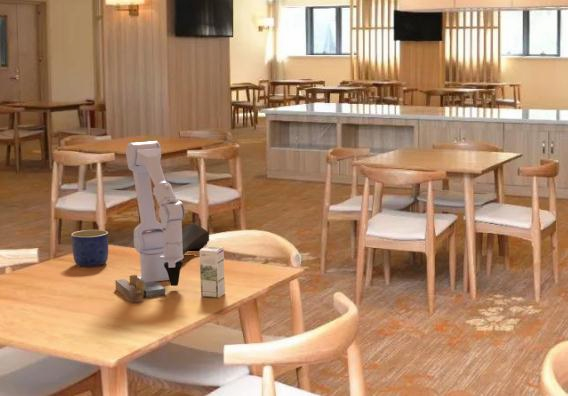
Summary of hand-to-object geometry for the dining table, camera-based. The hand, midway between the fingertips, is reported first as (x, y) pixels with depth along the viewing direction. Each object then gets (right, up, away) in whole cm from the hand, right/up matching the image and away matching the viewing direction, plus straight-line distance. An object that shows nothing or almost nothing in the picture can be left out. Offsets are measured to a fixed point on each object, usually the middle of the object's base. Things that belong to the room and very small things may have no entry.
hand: (174, 285), depth 308 cm
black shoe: (-1, +6, +48) cm, 48 cm away
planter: (-32, +4, +37) cm, 49 cm away
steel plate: (-7, -2, -3) cm, 8 cm away
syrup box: (+12, -3, -7) cm, 15 cm away
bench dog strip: (-12, -3, -5) cm, 13 cm away
